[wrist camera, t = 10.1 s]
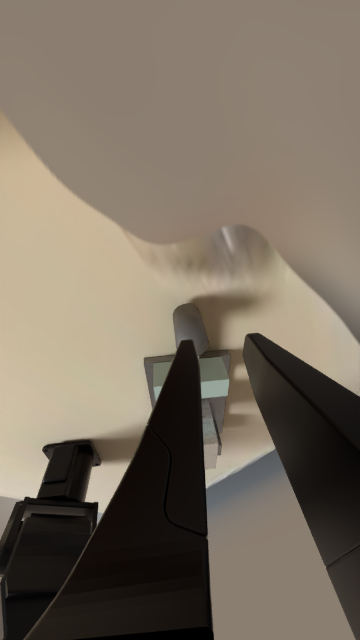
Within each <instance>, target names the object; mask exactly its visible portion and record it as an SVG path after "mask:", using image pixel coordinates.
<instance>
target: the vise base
mask: <svg viewBox="0 0 360 640" xmlns="http://www.w3.org/2000/svg"><path fill="white" fill-rule="evenodd" d="M174 356H175V355H170V356H160V357H150V358H144V367H145V372H146V378H147V383H148V388H149V394H150V399H151V404H152V409H153V408H154V405H155V403H156V399H155V394H154V388H153V370H154V363H161V362H172V361H173V358H174ZM213 357H222V359H223V362H224V365H225V368H226V371H227V374H229V365H230V352H229V350H222V351H212V352H204V353H203V354H201V355H199V359H202V358H213ZM208 400H209V404H210V409H211V413H212V417H213V422H214V426H215V431H216V435H217V439H218V452H217V455H221V447H222V444H221V440H220V436H219V433H222V428H223V419H224V410H225V401H226V396H220V397H211V398H208Z"/></svg>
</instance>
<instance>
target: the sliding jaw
mask: <svg viewBox="0 0 360 640" xmlns="http://www.w3.org/2000/svg"><path fill="white" fill-rule="evenodd" d="M173 322H174V331H175V339H176V348H178V346H179V343H180V341H181V340H186V339H192V340H193V341H194V345H195V348H196V352H197V356H198V359H199V355H201V354H203V353H204V352H205V351H206V350H207V348H208V345H209V342H208V338H207V335H206V332H205V328H204V325H203V322H202V318H201V315H200V312H199V310H198V308H197V307H196V306H194V305H192V304H183V305H180V306H178V307H177V308H176V309H175V311H174V312H173ZM171 363H172V362H161V363H154V370H153V388H154V394H155V399H156V400H157V398H158V396H159V393H160V391H161V388H162V386H163V383H164V381H165V378H166V376H167V373H168V371H169V368H170V366H171ZM199 364H200V374H201V396H202V398H211V397H220V396H228V387H229V377H228V374H227V371H226V368H225V365H224V362H223V359H222V357H213V358H202V359H199Z"/></svg>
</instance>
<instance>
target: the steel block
mask: <svg viewBox="0 0 360 640" xmlns="http://www.w3.org/2000/svg"><path fill="white" fill-rule="evenodd" d="M202 418H203V440H204V462H205V469H213V468H216V461H217V452H218V439H217V435H216V431H215V426H214V422H213V417H212V413H211V409H210V404H209V400H208V398H202Z"/></svg>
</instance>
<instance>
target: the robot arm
mask: <svg viewBox="0 0 360 640" xmlns="http://www.w3.org/2000/svg"><path fill="white" fill-rule="evenodd" d="M243 358H244V362H245V365H246V369H247V372H248V376H249V379H250V383H251V386H252V390H253V393H254V396H255V399H256V402H257V404H258V407H259V409H260V412H261V414H262V416H263V419H264V421H265V424H266V426H267V428H268V431H269V433H270V435H271V438H272V440H273V443H274V445H275V447H276V450H277V452H278V455H279V457H280V459H281V462H282V464H283V466H284V469H285V471H286V474H287V476H288V479H289V481H290V483H291V486H292V488H293V490H294V493H295V495H296V498H297V500H298V502H299V505H300V507H301V509H302V512H303V514H304V517H305V519H306V522H307V524H308V526H309V529H310V531H311V534H312V536H313V538H314V541H315V543H316V545H317V548H318V550H319V553H320V555H321V557H322V560H323V562H324V564H325V566H326V570H327V572H328V575H329V577H330V579H331V582H332V584H333V586H334V589H335V591H336V593H337V596H338V598H339V601H340V603H341V606H342V608H343V611H344V613H345V615H346V618H347V620H348V622H349V625H350V627H351V630H352V632H353V634H354V637H355V639H356V640H360V397H359V396H358V395H356V394H354V393H353V392H351V391H350V390H348V389H347V388H345V387H343V386H342V385H340V384H339V383H337V382H335V381H334V380H332V379H331V378H329V377H328V376H326V375H324V374H323V373H321V372H320V371H318V370H317V369H315V368H313V367H312V366H310V365H309V364H307V363H305V362H304V361H302V360H301V359H299V358H298V357H296V356H294V355H293V354H291V353H290V352H288V351H286V350H285V349H283V348H282V347H280V346H279V345H277V344H275V343H274V342H272V341H271V340H269V339H267V338H266V337H264V336H263V335H261V334H259V333H251V334H247V335H246V336H245V342H244V348H243ZM147 424H148V425H147V426H146V427H145V430H144V432H143V435H142V437H141V440H140V442H139V444H138V447H137V449H136V451H135V453H134V456H133V458H132V460H131V462H130V464H129V466H128V468H127V470H126V472H125V474H124V476H123V478H122V480H121V482H120V484H119V486H118V488H117V489H116V491H115V493H114V495H113V497H112V499H111V501H110V502H109V504H108V506H107V508H106V510H105V512H104V513H103V515H102V517H101V519H100V521H99V523H98V525H97V514H98V502H94V503H90V502H85V499H86V494H87V489H88V484H89V479H90V474H91V469H92V467H94V466H100V465H101V460H100V458H99V456H98V454H97V452H96V450H95V449H94V447H93V445H92V443H91V442H90V441H84V442H75V443H67V444H58V445H49V446H44V447H43V449H42V451H43V453H44V454H45V455H46V456H47V458H48V459H49V463H48V466H47V469H46V471H45V474H44V477H43V480H42V484H41V487H40V489H39V492H38V495H37V498H30V497H25V498H24V501H20V502H16V504H15V506H14V509H13V511H12V514H11V516H10V519H9V521H8V524H7V526H6V528H5V531H4V533H3V535H2V537H1V540H0V577H2V579H1V582H0V640H214V633H213V618H212V603H211V588H210V569H209V550H208V539H207V538H208V528H207V508H206V507H207V506H206V484H205V462H204V440H203V418H202V396H201V374H200V364H199V359H198V356H197V352H196V348H195V345H194V341H193V340H192V339H186V340H181V341H180V343H179V346H178V348H177V351H176V353H175V356H174V358H173V361H172V363H171V366H170V368H169V371H168V373H167V376H166V378H165V381H164V383H163V386H162V388H161V391H160V393H159V396H158V398H157V400H156V403H155V405H154V408H153V410H152V413H151V415H150V418H149V420H148V423H147ZM22 518H25V519H24V521H21V520H22Z"/></svg>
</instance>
